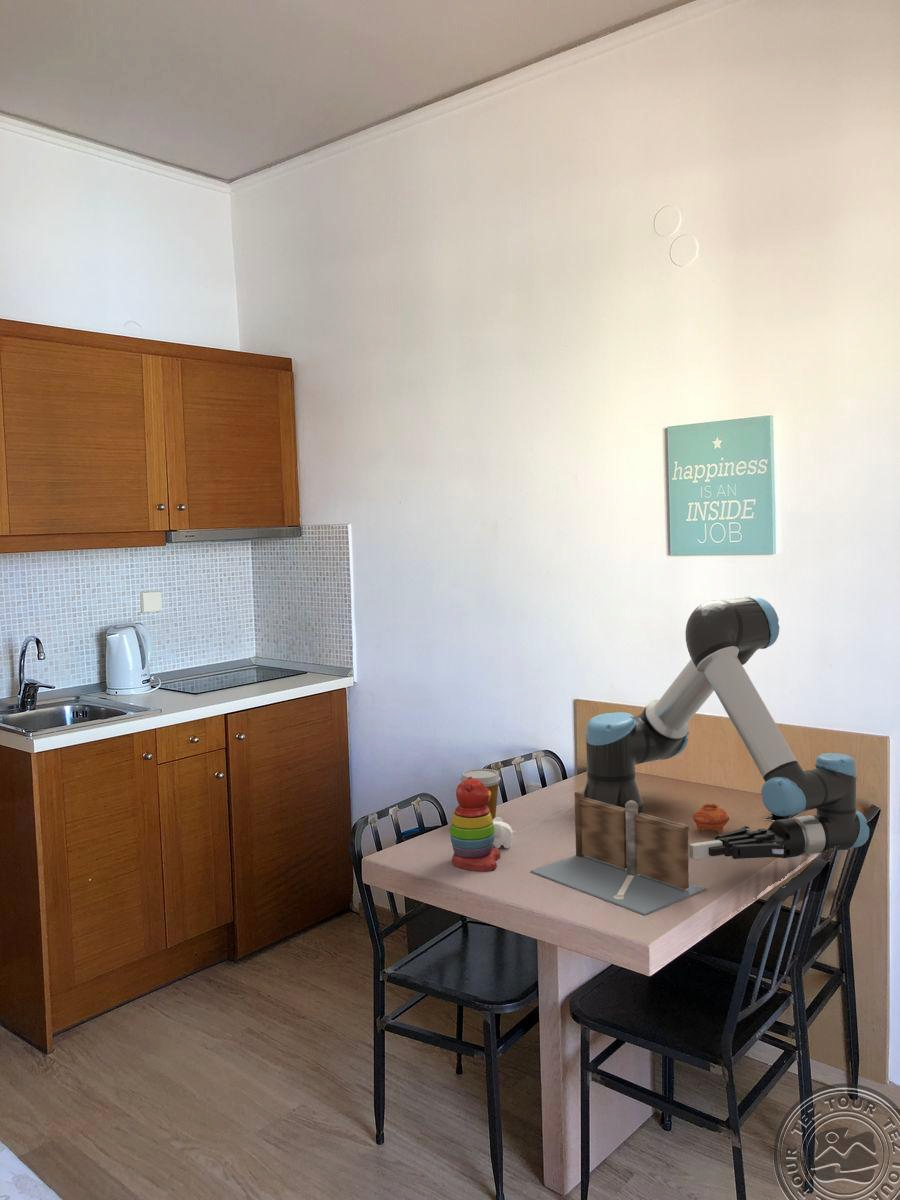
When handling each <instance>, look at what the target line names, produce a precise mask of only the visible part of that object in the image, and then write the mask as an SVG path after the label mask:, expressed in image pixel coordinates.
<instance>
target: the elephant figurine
mask: <svg viewBox="0 0 900 1200" xmlns="http://www.w3.org/2000/svg"><path fill="white" fill-rule="evenodd" d="M492 821H493V824H494V829H495V831H494V833H495V834H494V842H493V846H494V848H496V849H498V850H499V849H501V847H502V845H503V848H504V849H509V848H511V845H512V842H513V834H514V833H515V832H517V831H518V829H516V830H513V828H512V827H511V826H510V824H508V823H507V822H504V820H503V818H502V817H501V816H500V817H499V816H495V818H494V819H493V820H492Z"/></svg>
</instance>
